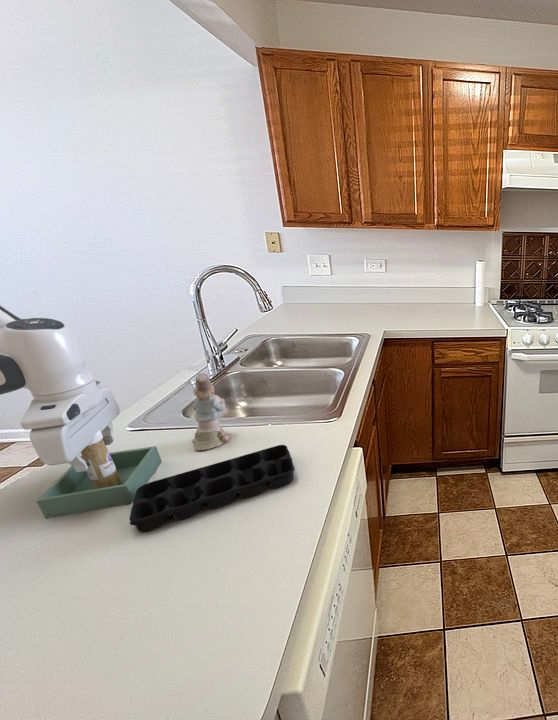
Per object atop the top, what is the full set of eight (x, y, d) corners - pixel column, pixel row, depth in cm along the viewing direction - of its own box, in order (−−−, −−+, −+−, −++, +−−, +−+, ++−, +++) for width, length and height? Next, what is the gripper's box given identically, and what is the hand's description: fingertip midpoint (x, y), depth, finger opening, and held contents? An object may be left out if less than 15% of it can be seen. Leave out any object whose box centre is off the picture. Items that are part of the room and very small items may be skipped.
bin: (45, 518, 78) (35, 501, 77) (87, 473, 91) (79, 457, 90) (133, 502, 82) (126, 485, 81) (161, 461, 95) (156, 445, 94)
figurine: (226, 448, 100) (205, 377, 92) (188, 453, 98) (164, 380, 90) (237, 430, 108) (219, 362, 100) (203, 433, 106) (181, 365, 98)
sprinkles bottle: (123, 485, 87) (100, 433, 81) (95, 495, 84) (69, 442, 78) (121, 475, 90) (99, 425, 84) (94, 485, 87) (69, 433, 82)
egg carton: (128, 505, 82) (121, 491, 80) (278, 445, 101) (276, 433, 100) (140, 556, 70) (133, 540, 69) (307, 477, 90) (304, 464, 88)
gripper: (80, 379, 87) (104, 432, 92) (12, 427, 69) (47, 490, 74) (115, 375, 88) (137, 427, 94) (57, 421, 70) (88, 483, 76)
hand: (96, 455), depth 84 cm, fingers open, 8 cm apart
